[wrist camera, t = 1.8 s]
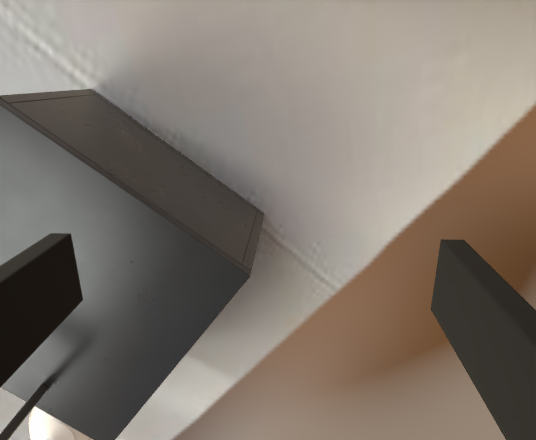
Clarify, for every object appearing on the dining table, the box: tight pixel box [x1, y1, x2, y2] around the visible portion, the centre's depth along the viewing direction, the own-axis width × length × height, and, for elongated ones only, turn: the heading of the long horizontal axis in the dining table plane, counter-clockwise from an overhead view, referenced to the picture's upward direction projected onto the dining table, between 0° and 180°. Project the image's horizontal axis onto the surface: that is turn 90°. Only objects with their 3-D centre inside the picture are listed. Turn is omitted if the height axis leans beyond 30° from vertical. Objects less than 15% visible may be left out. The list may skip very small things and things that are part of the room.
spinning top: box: [29, 406, 92, 440], centre depth 48 cm, size 8×8×12 cm
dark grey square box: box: [0, 89, 264, 271], centre depth 40 cm, size 22×22×14 cm
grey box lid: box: [0, 99, 251, 440], centre depth 29 cm, size 23×22×9 cm
